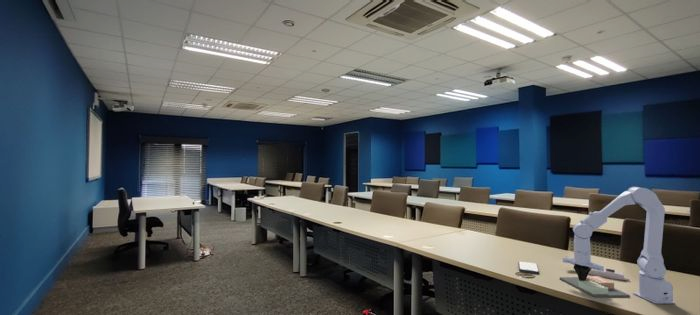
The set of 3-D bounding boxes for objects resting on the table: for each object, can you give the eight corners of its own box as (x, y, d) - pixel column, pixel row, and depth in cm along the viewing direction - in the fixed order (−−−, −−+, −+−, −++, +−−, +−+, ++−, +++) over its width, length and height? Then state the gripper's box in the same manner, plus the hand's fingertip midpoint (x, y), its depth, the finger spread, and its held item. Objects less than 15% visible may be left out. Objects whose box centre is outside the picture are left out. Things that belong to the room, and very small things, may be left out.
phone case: (518, 263, 170) (518, 272, 155) (518, 260, 170) (518, 269, 155) (537, 266, 166) (539, 275, 151) (537, 263, 166) (539, 272, 151)
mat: (629, 297, 126) (629, 295, 126) (594, 297, 126) (594, 295, 126) (589, 278, 146) (589, 277, 146) (559, 279, 146) (559, 277, 146)
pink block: (614, 288, 132) (614, 282, 132) (598, 289, 132) (598, 282, 132) (598, 281, 140) (598, 275, 140) (583, 281, 140) (583, 275, 140)
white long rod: (564, 255, 163) (629, 266, 147) (565, 267, 163) (629, 278, 147) (563, 258, 159) (629, 269, 142) (563, 270, 159) (629, 282, 142)
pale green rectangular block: (608, 294, 126) (608, 287, 126) (593, 294, 126) (593, 287, 126) (592, 286, 134) (592, 280, 134) (578, 286, 134) (578, 280, 134)
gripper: (606, 254, 132) (606, 286, 132) (567, 246, 144) (568, 276, 144) (599, 256, 128) (599, 290, 128) (560, 248, 141) (560, 279, 140)
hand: (582, 283), depth 136 cm, fingers closed
